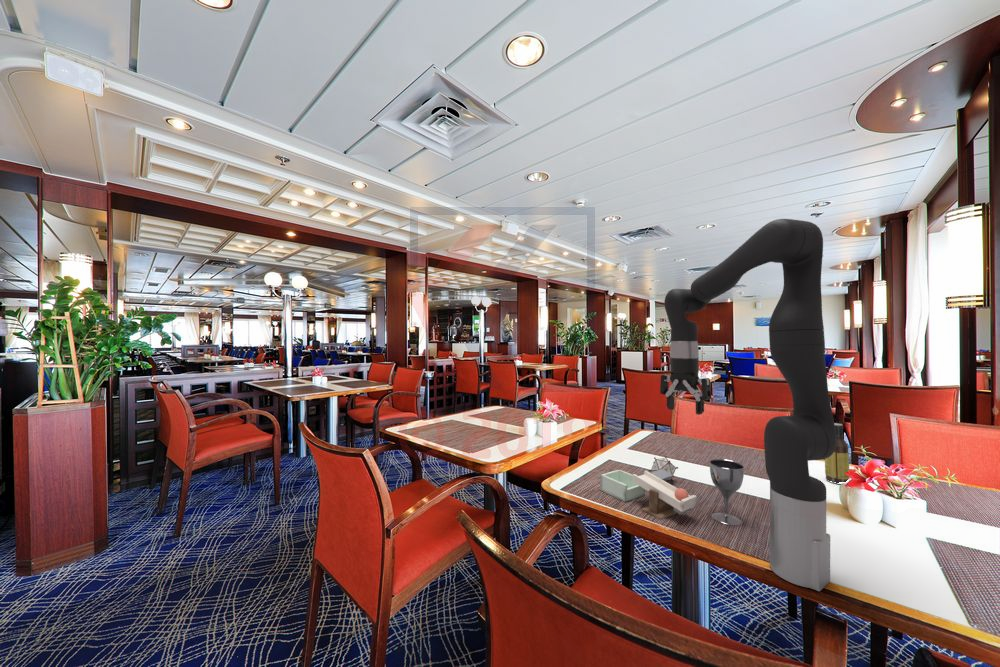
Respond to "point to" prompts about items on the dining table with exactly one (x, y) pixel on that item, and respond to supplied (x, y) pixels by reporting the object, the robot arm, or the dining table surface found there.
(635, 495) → the tray
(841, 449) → the sauce bottle
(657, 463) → the grey geometric polyhedron
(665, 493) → the lever
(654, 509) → the fulcrum
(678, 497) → the ball
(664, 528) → the dining table surface
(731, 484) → the wine glass
